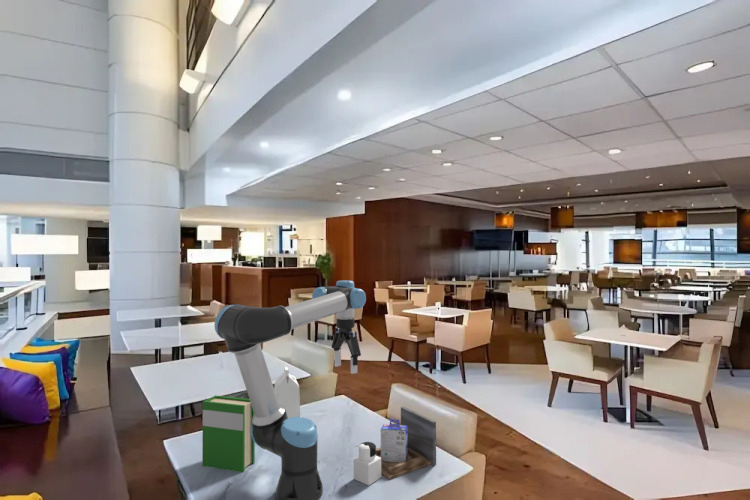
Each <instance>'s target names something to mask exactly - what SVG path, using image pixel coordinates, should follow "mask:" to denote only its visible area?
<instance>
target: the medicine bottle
mask: <svg viewBox="0 0 750 500" xmlns="http://www.w3.org/2000/svg"><path fill="white" fill-rule="evenodd" d="M376 449H377V446H376V444H375V443H374V442H372V441H371V442H370V441H364V442H361V443H360V444H359V445H358V456H356V457H355V458H353V480H355V481H358V482H360V483H362V484H363V485H367V486H370V485H372V484H374V483H375V482H377V481H378V480H380V479H381V478H382V474H381V457H378V456H376Z"/></svg>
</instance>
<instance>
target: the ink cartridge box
mask: <svg viewBox="0 0 750 500" xmlns="http://www.w3.org/2000/svg"><path fill="white" fill-rule="evenodd" d="M392 422H393V423H392ZM394 422H396V423H394ZM380 448H381V459H382V460H383V461H386V462H398V463H402V462H405V461H407V458H408V434H407V426H404V425H401V424H400V419H395V418H393V419H392V418H390V419H389V424H382V426H381V427H380Z"/></svg>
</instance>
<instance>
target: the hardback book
mask: <svg viewBox="0 0 750 500" xmlns="http://www.w3.org/2000/svg"><path fill="white" fill-rule="evenodd" d="M253 416H254V411H253V408H252V405H251V402H250V399H249V398H242V397H233V396H225V395H223V396H222V395H214V396H211V397H209V398H207V399H205V400H203V401H202V460H201V461H202V467H207V468H213V469H218V470H225V471H232V472H238V473H245V469H246V468H247V467H248V466H249V465H255V458H256V455H255V445H256V443H255V442H254V441H253V439H252V437H251V427H252V425H253V424H252V418H253Z"/></svg>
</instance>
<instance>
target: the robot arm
mask: <svg viewBox="0 0 750 500" xmlns="http://www.w3.org/2000/svg"><path fill="white" fill-rule="evenodd" d="M311 294H312V295H311V297H312V299H307V300H304V301H301V302H297V303H295V304H291V305H287V306H283V305H278V306H277V305H276V306H273V307H258V306H257V307H256V306H251V305H250V306H249V305H242V304H230V305H227V306H224V307H223V308H222V309H221V310H220V311H218V313H217V316H216V317H215V319H214V331H215V333H216V335H218V337H220V338H221V339H223V340H224V342H225V345H226V348H227V351H228V352H229V353H231V354H234V356H235V359H236V362H237V364H238V368H239V371H240V374H241V377H242V381H243V383H244V387H245V389H246V392H247V396H248V399H250V402H251V405H252V408H253V411H254V416H253V418H252V424H253V425H252V427H251V437H252V439H253V441H254V442H255V445H257V446H259V447H260V448H261V449H264V450H265V451H269V452H270V453H272V454H274V455H276V456H278V457H280V459H281V464H280V465H281V473H280V475H279V478H278V481H277V485H276V489H275V499H276V500H320V499H321V497H322V496H323V491H324V490H323V482H322V479H321V476H320V473H319V470H318V440H319V439H318V437H319V435H318V428H317V424H316V423H315V422H314V421H313V420H312V419H310V418H307V417H305V416H302V417H301V416H300V417H291V418H288V416H287V413H286V410H285V407H284V406H283V405H281V404H279V403H278V400H277V397H276V393H275V390H274V384H273V381H272V377H271V375H270V371H269V368H268V365H267V362H266V359H265V356H264V353H263V350H262V346H261V344H263V343H266V342H269V341H273V340H276V339H278V338H281V337H284V336H287V335H289V334H290V333H291V331H292V330H294V329H296V328H300V327H302V326H306V325H308V324H311V323H313V322H317V321H319V320H322V319H326V318H328V317H330V316H333V315H335V317H336V321H335V322H336V325H335V326H336V327H335V329H334V335H333V339H332V344H331V349H333V351H334V367H336V368H337V367H341V366H342V345H343V343H344V342H345V343H346V344H347V347H348V350H349V352H350V374H351V375H352V374H353V375H354V374H358V358H359V357H361V356H362V353H361V349H360V348H361V347H360V345H359V342H358V341H359V340H358V338H357V337H358V333H357V331H353V328H355V323H356V322H355V318H354V317H355V311H356V310H359V309H362V308H363V307H364V306H365V304H366V301H367V296H366V295H367V294H366V292H365V291H364V290H363V289H361V288H357V287H355V282H354V281H353V280H337V281H336V284H335V286H332V285H331V286H320V287H316V288H315V289H314V290H313V292H312V293H311Z"/></svg>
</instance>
